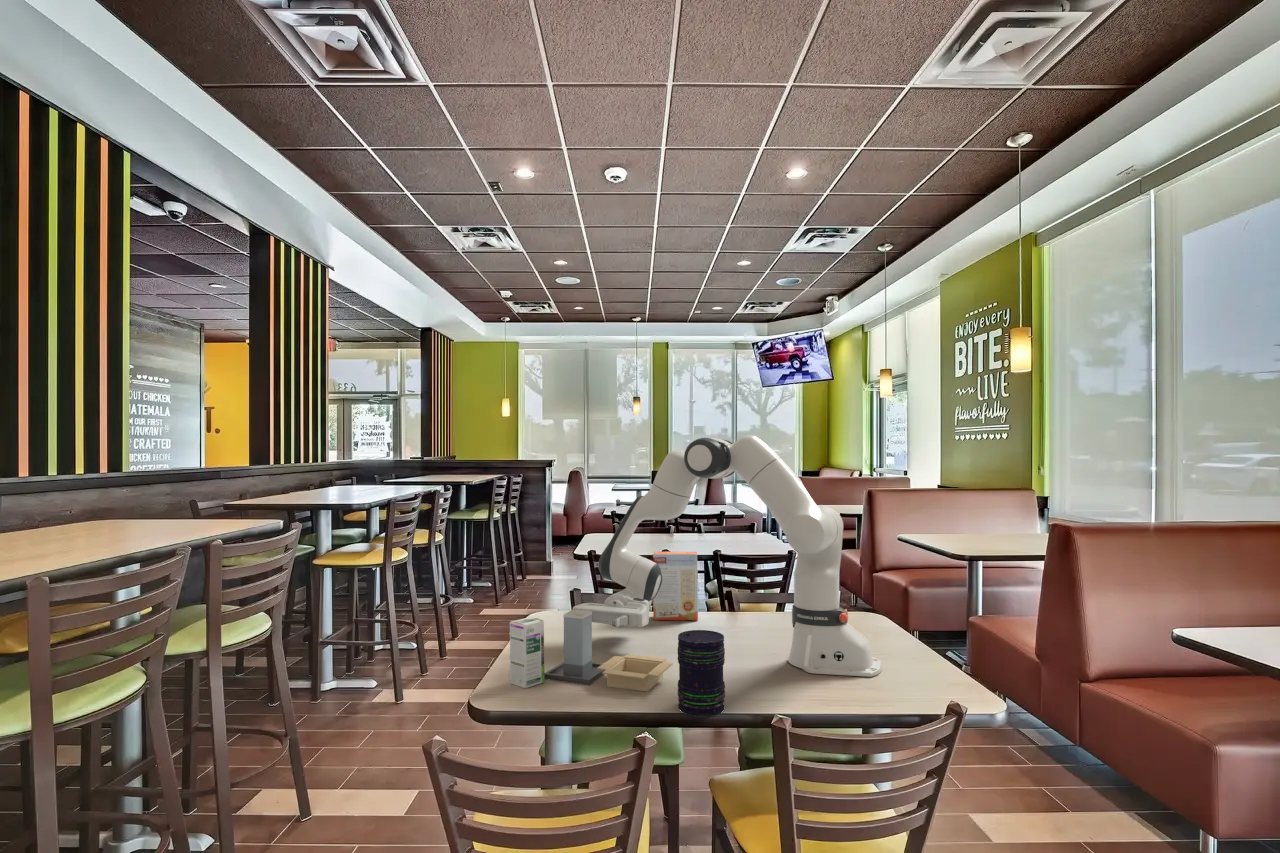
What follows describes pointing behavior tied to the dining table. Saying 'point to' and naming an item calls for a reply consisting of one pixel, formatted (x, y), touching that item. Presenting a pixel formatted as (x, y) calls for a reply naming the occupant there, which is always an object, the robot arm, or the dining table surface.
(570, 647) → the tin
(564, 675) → the tray
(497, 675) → the dining table surface
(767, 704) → the dining table surface
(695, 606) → the cracker box
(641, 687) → the carton
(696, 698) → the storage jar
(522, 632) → the syrup box
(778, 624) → the dining table surface
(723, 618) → the dining table surface
